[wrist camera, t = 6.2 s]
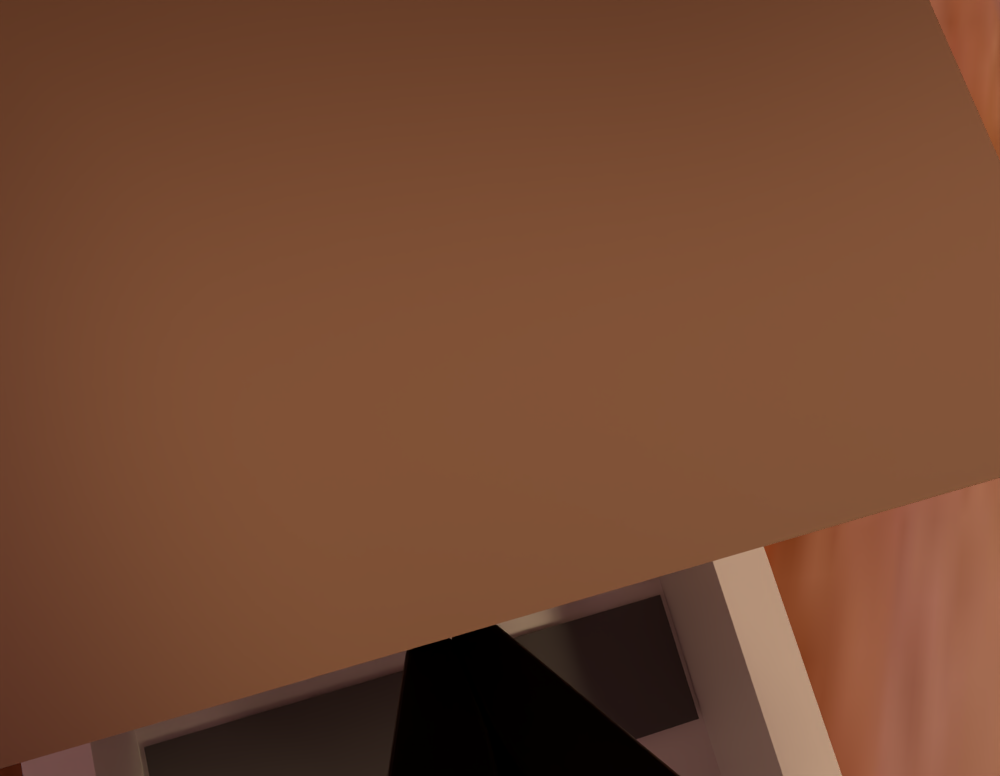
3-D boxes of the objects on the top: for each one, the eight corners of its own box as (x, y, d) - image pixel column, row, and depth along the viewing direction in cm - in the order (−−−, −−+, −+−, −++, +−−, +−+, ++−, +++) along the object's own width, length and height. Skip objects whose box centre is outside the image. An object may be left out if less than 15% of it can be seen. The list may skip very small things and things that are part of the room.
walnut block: (594, 591, 15) (1124, 441, 5) (214, 701, 14) (-193, 824, 4) (509, 304, 16) (786, -322, 6) (150, 382, 15) (-305, -239, 5)
